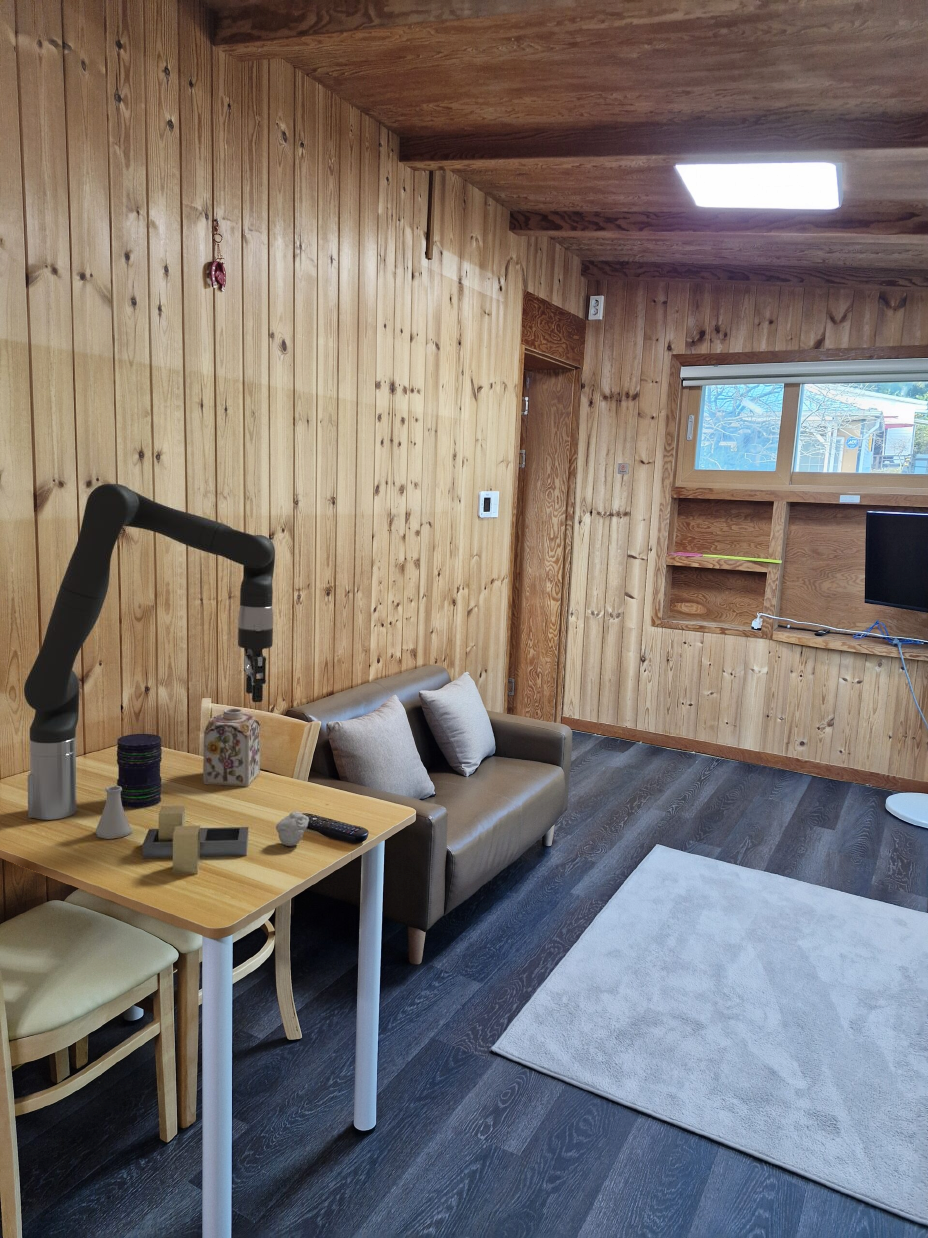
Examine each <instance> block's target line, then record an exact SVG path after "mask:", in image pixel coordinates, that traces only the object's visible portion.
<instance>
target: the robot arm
mask: <svg viewBox="0 0 928 1238" xmlns="http://www.w3.org/2000/svg"><path fill="white" fill-rule="evenodd" d="M81 521H82V522H81V527H80V531H79V534H78V539H77V542H76V544H75V548H74V550H73V553H72V554H71V557H70V559H69V562H68V566H67V568H66V570H65V573H64V575H63V578H62V581H61V583H60V586H59V590H58V593H57V595H56V599H55V602H54V606H53V608H52V611H51V615H50V618H49V621H48V624H47V628H46V631H45V634H44V639H43V642H42V645H41V648H40V649H39V652H38V654H37V657H36V659H35V660H34V663H33V665H32V667H31V669H30V671H29V674H28V676H27V677H26V679H25V683H24V686H23V694H24V695H23V696H24V698H25V700H26V701H25V702H26V703H27V704H28V706H29V707H30V708H32V710H35V713H34V717H33V720H32V723H31V724H30V728H29V765H30V766H29V770H30V771H29V773H28V774H27V777H26V778H27V779H26V781H27V818H30V819H32V818H34V819H37V820H46V821H47V820H50V821H51V820H61V819H64V818H67V817H70V816H73V815H75V813H76V812H77V750H76V749H77V747H76V746H77V739H76V738H77V737H76V736H77V732H76V731H77V726H78V722H79V713H80V684H79V679H78V675H76V673H75V671H74V669H73V668H74V665H75V662H76V659H77V656H78V654H79V651H80V650H81V648H82V646H83V645H84V644H85V642H86V640H87V639H88V637H89V636H90V634H91V632H92V631H93V629H94V627H95V625H96V623H97V621H98V619H99V617H100V614H101V612H102V608H103V605H104V603H105V600H106V598H107V594H108V589H109V584H110V577H111V576H110V575H111V574H110V573H111V561H112V555H113V552H114V548H115V545H116V543H117V541H118V539H119V536H120V535H121V532H122V530H123V527H129V528H130V527H131V528H136V529H140V530H141V529H142V530H147V531H151V532H154V533H157V534H159V535H162V536H164V537H168V538H169V539H171V540H173V541H175V542H178V543H180V544H183V545H184V546H188V547H190V548H193V549H196V550H199V551H202V552H204V553H208V554H212V555H216V556H219V557H223V558H224V559H227V560H229V561H232V562H234V563H236V564H239V565H242V566H243V569H242V571H243V572H242V573H243V575H242V581H241V583H240V588H239V589H240V590H239V611H238V624H237V625H238V626H237V628H238V629H237V646H238V647H239V648H242V649H244V663H243V664H244V667H243V671H244V676H245V693H246V694H248V695H249V694H250V695H251V701H252V702H253V703H262V702H263V700H264V699H263V698H264V693H263V692H264V690H263V689H264V685H266V682H267V680H266V679H267V678H266V675H267V674H266V673H267V672H266V671H267V670H266V669H267V668H266V667H267V663H266V662H267V658H266V657H267V656H264V652H263V650H265V649H270V648H272V647H273V643H274V642H273V640H274V637H273V636H274V634H273V633H274V610H273V598H274V597H273V596H274V595H273V594H274V589H273V578H274V572H275V562H276V548H275V544H274V542H273V541H272V540H271V539H270V538H269V537H268V536H266V535H263V534H250V533H247V532H244V531H242V530H238V529H234V528H232V527H231V526H229V525H228V524H225V523H222V522H219V521H216V520H213V519H210V518H206V517H204V516H200V515H197V514H192V513H189V512H185V511H182V510H179V509H176V508H172V507H169V506H166V505H164V504H162V503H159V502H157V501H154V500H152V499H150V498H148V497H146V496H143V495H142V494H140V493H138V492H136V491H134V490H133V489H130V488H129V487H128V486H126V485H123V484H119V483H104V484H100V485H98V486H96V487H95V488H94V489H92V491H90V494H89V495H88V497H87V499H86V504H85V508H84V513H83V517H82V520H81ZM257 677H260V678H257Z"/></svg>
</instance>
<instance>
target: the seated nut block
mask: <svg viewBox="0 0 928 1238" xmlns="http://www.w3.org/2000/svg"><path fill="white" fill-rule="evenodd" d="M185 806H186V805H161V807H160V809H159V811H158V829H159V842H173V833H174V830H175V827H176V826H186V825H185V823H186V822H185V820H186V819H185V816H186V815H185V812H186V811H185V810H186V809H185V808H186V807H185Z"/></svg>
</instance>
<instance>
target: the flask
mask: <svg viewBox="0 0 928 1238" xmlns="http://www.w3.org/2000/svg"><path fill="white" fill-rule="evenodd" d="M104 791H105V792H106V799H105V804H104V805H105V806H104V807H103V810H102V814H101V816H100V819H99V821H98V823H97V826H96V828H95V831H94V833H95V835H96V837H98V838H100V839H101V838H102V839H104V840H105V839H106V840H112V839H113V840H114V839H118V838H123V837H126V836H128V835H131V834H133V830H132V828H131V827H132V826H131V825H130V823H129V820H128V818H127V816H126V812H125V810H124V807H122V802H121V796H120V792H121V791H122V788H121V787H120V786H117V785H111V786H108V787H105V790H104Z"/></svg>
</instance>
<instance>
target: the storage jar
mask: <svg viewBox="0 0 928 1238" xmlns="http://www.w3.org/2000/svg"><path fill="white" fill-rule="evenodd" d="M116 742H117V743H116V745H117V746H116V749H117V750H116V758H117V759H116V764H117V765H118V771H117V772H118V776H117V777H118V778H117V780H116V786H120V787H121V788H122V791H121V792H120V796H121V802H122V807H123V809H124V808H125V809H145V808H151V807H154V806H156V805H158V804H160V803H161V801H162V796H161V795H162V788H163V787H162V782H163V781H162V780H163V779H162V777H161V763H162V758H163V757H162V754H163V751H162V750H163V749H162V737H161V735H158V734H157V735H156V734H151V733H135V734H134V733H132V734H126V735H123V736H120V737H118V738H117V741H116Z"/></svg>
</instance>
